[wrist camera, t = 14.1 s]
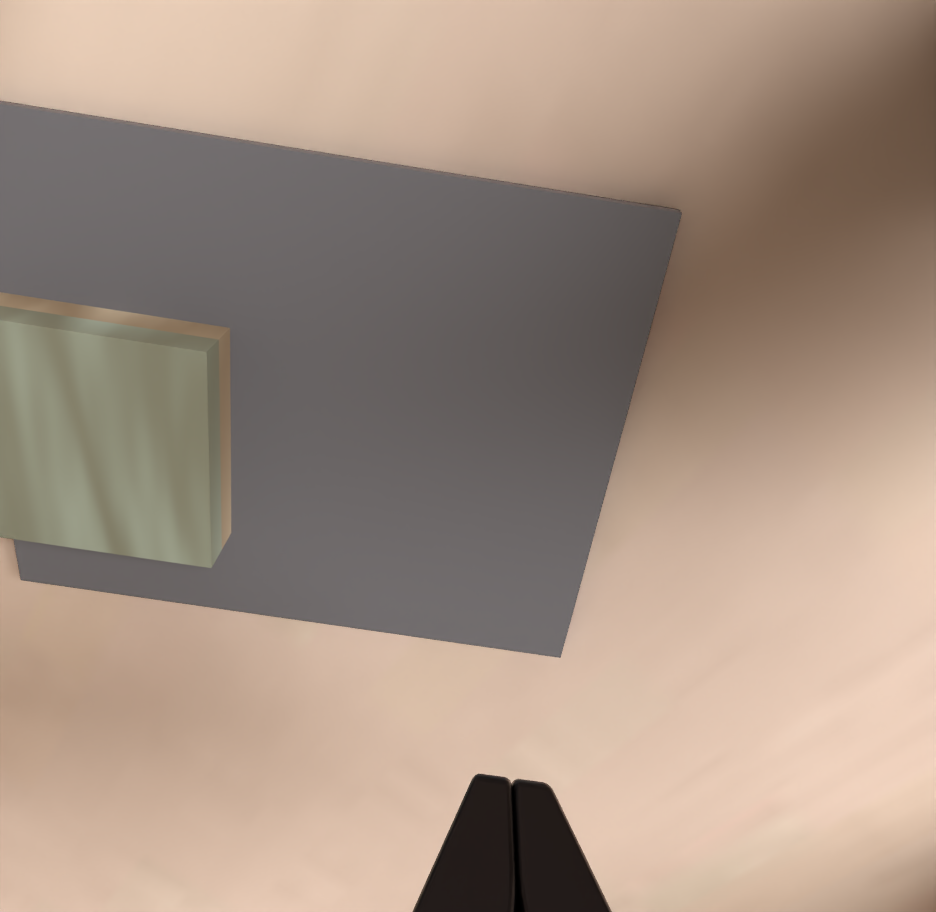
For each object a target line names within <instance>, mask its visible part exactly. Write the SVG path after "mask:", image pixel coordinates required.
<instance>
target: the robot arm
mask: <svg viewBox="0 0 936 912" xmlns="http://www.w3.org/2000/svg"><path fill="white" fill-rule="evenodd" d="M413 912H612V911H611V909H610V907H609V905H608V903H607V901H606V899H605V897H604V895H603V893H602V891H601V888H600V886H599V884H598V882H597V880H596V878H595V876H594V874H593V872H592V870H591V868H590V866H589V864H588V862H587V859H586V857H585V855H584V853H583V851H582V849H581V847H580V845H579V843H578V841H577V839H576V837H575V835H574V833H573V830H572V828H571V826H570V824H569V822H568V820H567V818H566V816H565V814H564V812H563V810H562V808H561V806H560V803H559V801H558V799H557V797H556V795H555V793H554V791H553V790H552V788H551V787H550V786H549V785H548V784H546V783H543V782H536V781H529V780H522V779H516V780H514V781H513V782H512V784H511V782H510V780H509V779H508V778H506V777H500V776H493V775H486V774H477V775H475V776H474V777H473V779H472V781H471V783H470V785H469V787H468V789H467V792H466V794H465V796H464V798H463V801H462V803H461V805H460V807H459V809H458V812H457V814H456V816H455V818H454V821H453V823H452V825H451V827H450V829H449V832H448V834H447V836H446V838H445V841H444V843H443V845H442V847H441V850H440V852H439V854H438V856H437V858H436V861H435V863H434V865H433V867H432V870H431V872H430V874H429V876H428V878H427V881H426V883H425V885H424V887H423V890H422V892H421V894H420V896H419V898H418V901H417V903H416V905H415V907H414V910H413Z"/></svg>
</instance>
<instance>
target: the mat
mask: <svg viewBox="0 0 936 912" xmlns="http://www.w3.org/2000/svg"><path fill="white" fill-rule="evenodd" d="M681 215H682V213H681V212H680V211H679V210H678V209H672V208H666V207H659V206H653V205H647V204H641V203H635V202H628V201H622V200H616V199H610V198H603V197H597V196H591V195H585V194H578V193H572V192H566V191H560V190H553V189H547V188H541V187H535V186H528V185H522V184H516V183H510V182H504V181H497V180H491V179H485V178H479V177H472V176H466V175H460V174H454V173H447V172H441V171H435V170H429V169H422V168H416V167H410V166H404V165H397V164H391V163H385V162H379V161H372V160H366V159H360V158H354V157H348V156H341V155H335V154H329V153H323V152H316V151H310V150H304V149H298V148H291V147H285V146H279V145H273V144H266V143H260V142H254V141H248V140H241V139H235V138H229V137H223V136H217V135H210V134H204V133H198V132H192V131H185V130H179V129H173V128H167V127H160V126H154V125H148V124H142V123H135V122H129V121H123V120H117V119H110V118H104V117H98V116H92V115H85V114H79V113H73V112H67V111H61V110H54V109H48V108H42V107H36V106H29V105H23V104H17V103H11V102H4V101H0V292H2V293H9V294H15V295H21V296H28V297H34V298H41V299H47V300H54V301H60V302H66V303H73V304H79V305H86V306H92V307H99V308H105V309H111V310H118V311H124V312H131V313H137V314H144V315H150V316H157V317H163V318H169V319H176V320H182V321H189V322H195V323H202V324H208V325H214V326H221V327H227V328H230V401H231V534H230V536H229V538H228V540H227V541H226V543H225V545H224V547H223V549H222V550H221V552H220V554H219V556H218V557H217V559H216V561H215V563H214V564H213V566H212V568H207V567H200V566H193V565H187V564H180V563H173V562H166V561H159V560H152V559H146V558H139V557H132V556H125V555H118V554H112V553H105V552H98V551H91V550H84V549H77V548H71V547H64V546H57V545H50V544H43V543H37V542H30V541H23V540H16V539H14V545H15V550H16V556H17V561H18V567H19V573H20V578H21V580H24V581H31V582H38V583H45V584H52V585H59V586H66V587H73V588H80V589H87V590H94V591H100V592H107V593H114V594H121V595H128V596H135V597H142V598H149V599H156V600H163V601H170V602H177V603H184V604H191V605H198V606H205V607H212V608H219V609H226V610H233V611H239V612H246V613H253V614H260V615H267V616H274V617H281V618H288V619H295V620H302V621H309V622H316V623H323V624H330V625H337V626H344V627H351V628H358V629H365V630H371V631H378V632H385V633H392V634H399V635H406V636H413V637H420V638H427V639H434V640H441V641H448V642H455V643H462V644H469V645H476V646H483V647H490V648H497V649H504V650H510V651H517V652H524V653H531V654H538V655H545V656H552V657H559V658H560V657H561V654H562V650H563V646H564V643H565V639H566V635H567V632H568V628H569V624H570V621H571V617H572V613H573V610H574V606H575V603H576V599H577V595H578V592H579V588H580V584H581V581H582V577H583V573H584V570H585V566H586V562H587V559H588V555H589V551H590V548H591V544H592V540H593V537H594V533H595V529H596V526H597V522H598V518H599V515H600V511H601V507H602V504H603V500H604V496H605V493H606V489H607V485H608V482H609V478H610V474H611V471H612V467H613V463H614V460H615V456H616V453H617V449H618V445H619V442H620V438H621V434H622V431H623V427H624V423H625V420H626V416H627V412H628V409H629V405H630V401H631V398H632V394H633V390H634V387H635V383H636V379H637V376H638V372H639V368H640V365H641V361H642V357H643V354H644V350H645V346H646V343H647V339H648V335H649V332H650V328H651V324H652V321H653V317H654V314H655V310H656V306H657V303H658V299H659V295H660V292H661V288H662V284H663V281H664V277H665V273H666V270H667V266H668V262H669V259H670V255H671V251H672V248H673V244H674V240H675V237H676V233H677V229H678V226H679V222H680V218H681Z"/></svg>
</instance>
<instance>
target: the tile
mask: <svg viewBox="0 0 936 912" xmlns="http://www.w3.org/2000/svg"><path fill="white" fill-rule="evenodd" d="M230 534H231V401H230V328H227V327H221V326H214V325H208V324H202V323H195V322H189V321H182V320H176V319H169V318H163V317H157V316H150V315H144V314H137V313H131V312H124V311H118V310H111V309H105V308H99V307H92V306H86V305H79V304H73V303H66V302H60V301H54V300H47V299H41V298H34V297H28V296H21V295H15V294H9V293H2V292H0V537H3V538H9V539H16V540H23V541H30V542H37V543H43V544H50V545H57V546H64V547H71V548H77V549H84V550H91V551H98V552H105V553H112V554H118V555H125V556H132V557H139V558H146V559H152V560H159V561H166V562H173V563H180V564H187V565H193V566H200V567H207V568H212V566H213V564H214V563H215V561H216V559H217V557H218V556H219V554H220V552H221V550H222V549H223V547H224V545H225V543H226V541H227V540H228V538H229V536H230Z"/></svg>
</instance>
